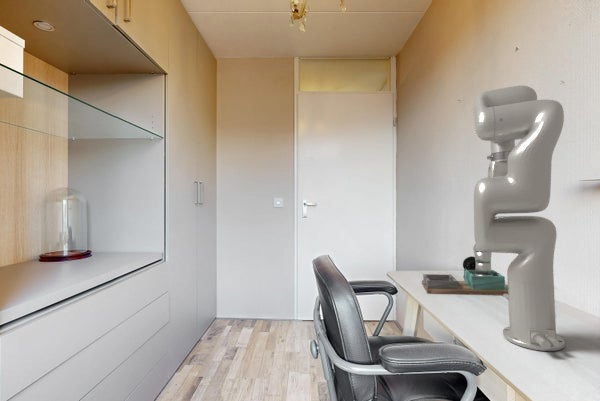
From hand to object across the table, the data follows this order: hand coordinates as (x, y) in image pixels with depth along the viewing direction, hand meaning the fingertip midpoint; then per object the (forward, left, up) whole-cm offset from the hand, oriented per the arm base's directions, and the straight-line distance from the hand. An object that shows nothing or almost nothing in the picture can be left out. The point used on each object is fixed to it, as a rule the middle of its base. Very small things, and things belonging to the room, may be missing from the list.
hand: (505, 204), depth 114 cm
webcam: (+24, +5, -34) cm, 42 cm away
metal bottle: (+7, +6, -32) cm, 34 cm away
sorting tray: (+7, +14, -34) cm, 37 cm away
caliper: (-10, +1, -34) cm, 35 cm away
